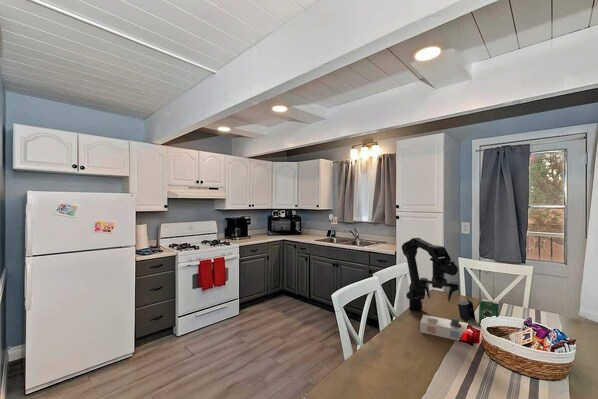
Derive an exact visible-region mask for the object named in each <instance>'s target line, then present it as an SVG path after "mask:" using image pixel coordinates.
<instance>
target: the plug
mask: <svg viewBox="0 0 598 399" xmlns="http://www.w3.org/2000/svg"><path fill="white" fill-rule="evenodd" d="M450 320H451V321H452V326H454V327H459V322H460V318H459V317H454V316H451V319H450Z"/></svg>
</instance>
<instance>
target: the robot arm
mask: <svg viewBox="0 0 598 399" xmlns="http://www.w3.org/2000/svg"><path fill="white" fill-rule="evenodd" d="M419 248H420V249H422V250H424V251H425V252H427V253H428V255H429V256H430V257H431V258H429V261H432V264H431V266H432V277H431V280H429V278H426V277H420V276H419V269H418V263H417V259H416V257H417V255H418V254H417V253H418V249H419ZM401 250H402V254H403V256H405V257H406V261H407V267H408V272H409V278H410V284H409V286H408V289H409V291H408V292H406V298H407V299H408V300H409V301H408V302H409V304H408V305H409V306H408V310H410V311H415V312H421V311H422V310H423V301H422V300H425V297H426V295H427V297H428V299H430V298H431V290H430V285H431V286H432V288H433V289H439V290H442V289H444V288H443V287H448V288H449V290H448V291H449V292H448V298H447V302H448V303H450V301H451V297H452V295H453V294H454V292H457V291H460V283H459V282H458V281H450V282H448V280H447V278H446V276H445V274H446V275H450V276H456V275H457V274H458V272H459V268H458V265H457V264H455V261H453V260H452V258H451V257H450V255H449V253H448V251H447V249H446V247H445V246H441V245H435V244H432V243H430V242H427V241H426V240H423V239H422V238H420V237H413V238H411V239H410V240H408V241H406V242H404V243H403V244H401Z"/></svg>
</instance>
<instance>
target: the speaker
mask: <svg viewBox="0 0 598 399" xmlns="http://www.w3.org/2000/svg"><path fill="white" fill-rule="evenodd" d="M457 306H458V308H457V309H458V312H459V317H460V318H459V319H462V320H470V319H472V320H473V321H474V322H476V321H477V320H476V314H475V308H474V303H473V301H472V300H471V299H469V298H467V300H460V301H457Z"/></svg>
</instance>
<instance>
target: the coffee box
mask: <svg viewBox="0 0 598 399" xmlns="http://www.w3.org/2000/svg"><path fill="white" fill-rule="evenodd" d="M478 301H479V304H478V325H480V323H481V320H482V319H484V318H486V317H492V316H496V317H498V318H499V303H498V302H497V301H490V300H482V299H480V300H478Z"/></svg>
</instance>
